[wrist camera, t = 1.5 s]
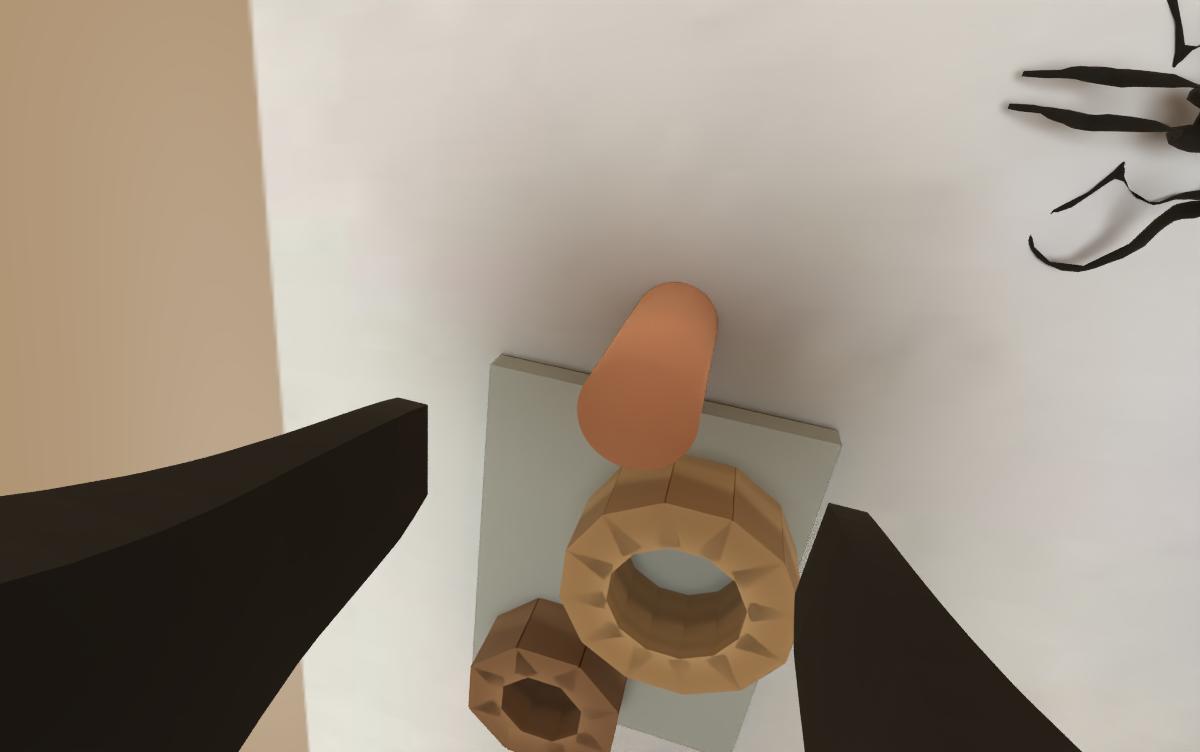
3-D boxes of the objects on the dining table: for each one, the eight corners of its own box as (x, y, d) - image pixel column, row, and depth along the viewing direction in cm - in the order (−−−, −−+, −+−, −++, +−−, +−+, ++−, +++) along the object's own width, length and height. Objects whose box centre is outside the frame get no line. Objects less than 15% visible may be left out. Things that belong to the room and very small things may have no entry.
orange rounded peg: (708, 370, 20) (685, 482, 14) (627, 353, 20) (570, 454, 14) (726, 291, 19) (711, 374, 12) (640, 274, 19) (584, 346, 13)
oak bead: (762, 649, 23) (764, 720, 20) (574, 594, 24) (551, 653, 21) (819, 487, 19) (830, 545, 17) (598, 433, 21) (575, 479, 18)
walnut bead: (617, 723, 26) (603, 782, 24) (491, 683, 27) (466, 735, 25) (638, 626, 24) (625, 681, 21) (499, 585, 25) (472, 633, 22)
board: (729, 738, 26) (729, 760, 25) (480, 659, 28) (471, 676, 27) (837, 430, 20) (841, 445, 19) (501, 354, 22) (490, 364, 21)
